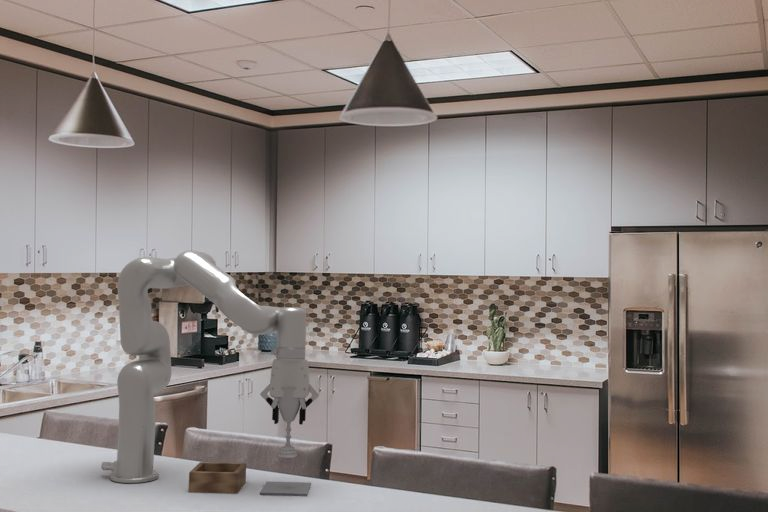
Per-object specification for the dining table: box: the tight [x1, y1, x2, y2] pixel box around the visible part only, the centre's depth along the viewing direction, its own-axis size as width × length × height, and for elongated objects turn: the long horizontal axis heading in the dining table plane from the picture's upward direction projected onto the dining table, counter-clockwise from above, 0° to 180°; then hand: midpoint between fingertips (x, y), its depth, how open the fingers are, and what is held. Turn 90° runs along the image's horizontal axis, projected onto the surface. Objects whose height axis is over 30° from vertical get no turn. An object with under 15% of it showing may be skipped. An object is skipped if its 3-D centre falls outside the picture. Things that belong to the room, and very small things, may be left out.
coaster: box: [259, 481, 312, 497], centre depth 201 cm, size 12×12×1 cm
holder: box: [188, 461, 247, 495], centre depth 202 cm, size 12×12×5 cm
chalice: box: [278, 387, 301, 459], centre depth 202 cm, size 7×7×18 cm
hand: (288, 422), depth 202 cm, fingers closed on chalice, 5 cm apart
